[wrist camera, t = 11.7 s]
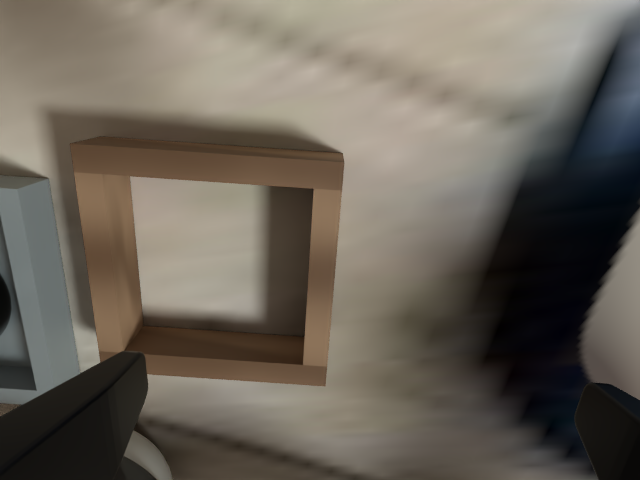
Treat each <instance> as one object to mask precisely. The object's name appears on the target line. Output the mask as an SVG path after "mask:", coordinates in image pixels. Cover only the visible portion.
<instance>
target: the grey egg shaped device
mask: <svg viewBox="0 0 640 480" xmlns="http://www.w3.org/2000/svg"><path fill="white" fill-rule="evenodd" d="M113 480H173V477H172V474H171V471H170V468H169V466H168V464H167V462H166V460H165V458H164V456H163V455H162V454H161V452H160V451H159V450H158V448H157V447H156V446H155V445H154V444H153V443H152V442H150V441H149V440H148V439H147V438H145V437H144V436H142V435H141V434H139V433H137V432H136V431H133V433H132V435H131V438H130V441H129V443H128V446H127V448H126V451H125V454H124V456H123V459H122V461H121V463H120V466H119V468H118V471H117V473H116V475H115V477H114V479H113Z"/></svg>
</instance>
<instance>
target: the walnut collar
mask: <svg viewBox="0 0 640 480" xmlns="http://www.w3.org/2000/svg"><path fill="white" fill-rule="evenodd" d="M70 148H71V155H72V162H73V169H74V177H75V184H76V191H77V198H78V205H79V212H80V220H81V227H82V234H83V241H84V248H85V255H86V262H87V270H88V277H89V284H90V291H91V298H92V305H93V313H94V320H95V327H96V334H97V341H98V348H99V356H100V363H101V362H103V361H104V360H106V359H108V358H110V357H112V356H114V355H116V354H117V353H119V352H121V351H137V352H142V353H143V354H144V355H145V359H146V368H147V374H152V375H167V376H181V377H196V378H211V379H226V380H240V381H255V382H270V383H285V384H300V385H314V386H325V384H326V373H327V361H328V349H329V337H330V325H331V313H332V302H333V290H334V278H335V266H336V254H337V242H338V230H339V219H340V207H341V195H342V183H343V171H344V158H343V153H334V152H319V151H305V150H290V149H276V148H261V147H246V146H232V145H217V144H203V143H188V142H173V141H159V140H144V139H130V138H115V137H96V138H92V139H88V140H83V141H79V142H75V143H70ZM130 176H135V177H150V178H164V179H179V180H194V181H208V182H223V183H238V184H252V185H267V186H281V187H296V188H311V189H314V192H313V208H312V225H311V241H310V258H309V274H308V291H307V307H306V324H305V337H301V336H286V335H271V334H256V333H242V332H227V331H212V330H197V329H183V328H168V327H153V326H144V324H143V313H142V303H141V292H140V281H139V271H138V260H137V249H136V239H135V228H134V217H133V207H132V196H131V185H130Z"/></svg>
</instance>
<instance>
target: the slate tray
mask: <svg viewBox="0 0 640 480" xmlns="http://www.w3.org/2000/svg"><path fill="white" fill-rule="evenodd" d="M0 274H1V275H2V277H3V279H4V280H5V282H6V284H7V287H8V289H9V292H10V296H11V304H12V310H11V317H10V320H9V323H8V325H7V327H6V329H5V331H4V332H3V333H2V335H1V336H0V403H6V404H21V405H23V404H25V403H26V402H28V401H30V400H32V399H34V398H36V397H38V396H39V395H41V394H43V393H45V392H47V391H49V390H51V389H52V388H54V387H56V386H58V385H60V384H62V383H64V382H65V381H67V380H69V379H71V378H73V377H75V376H77V375H78V374H80V370H79V364H78V358H77V351H76V345H75V339H74V333H73V327H72V320H71V314H70V308H69V302H68V296H67V290H66V283H65V277H64V271H63V265H62V259H61V252H60V246H59V240H58V234H57V228H56V221H55V215H54V209H53V203H52V197H51V191H50V184H49V179H47V178H33V177H18V176H4V175H0Z"/></svg>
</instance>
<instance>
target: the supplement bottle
mask: <svg viewBox="0 0 640 480" xmlns="http://www.w3.org/2000/svg"><path fill="white" fill-rule="evenodd" d="M11 310H12V304H11V296H10V292H9V289H8V287H7V284H6V282H5V280H4V279H3V277H2V275H1V274H0V336H1V335H2V333H3V332H4V331H5V329H6V327H7V325H8V323H9V320H10V317H11Z"/></svg>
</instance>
